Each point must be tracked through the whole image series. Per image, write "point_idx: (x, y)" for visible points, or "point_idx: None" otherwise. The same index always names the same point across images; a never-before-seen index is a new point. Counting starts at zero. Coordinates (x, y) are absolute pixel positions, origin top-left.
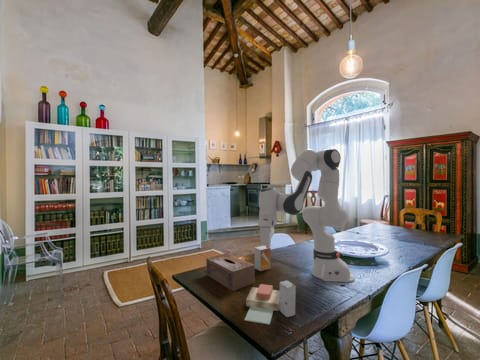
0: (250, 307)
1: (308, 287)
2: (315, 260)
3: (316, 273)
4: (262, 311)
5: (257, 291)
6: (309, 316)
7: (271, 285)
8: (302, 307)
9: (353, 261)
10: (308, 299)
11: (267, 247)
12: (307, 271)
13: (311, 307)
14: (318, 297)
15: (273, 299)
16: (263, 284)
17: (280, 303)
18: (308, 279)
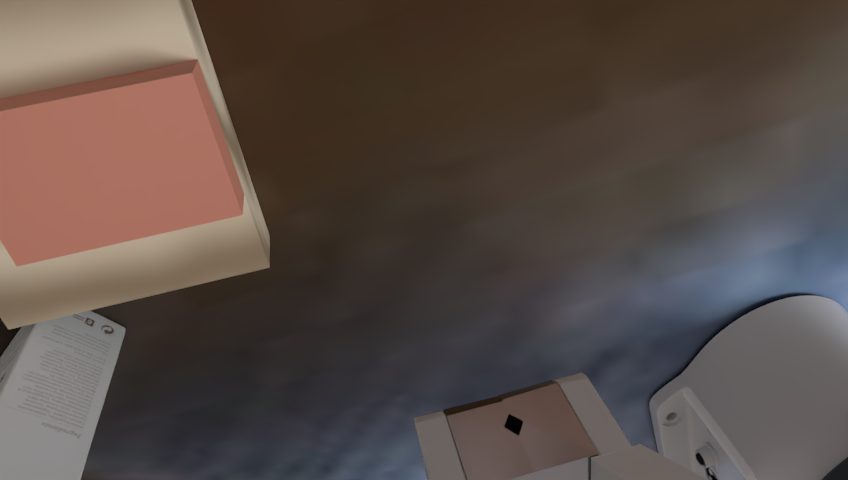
0: None
1: (524, 345)
2: (832, 421)
3: (728, 362)
4: None
5: None
6: (123, 456)
7: (234, 203)
8: (207, 397)
9: None
10: (340, 394)
11: (422, 456)
12: (813, 262)
13: (243, 434)
14: (399, 428)
15: (53, 271)
16: (203, 114)
17: (14, 351)
18: (661, 308)
